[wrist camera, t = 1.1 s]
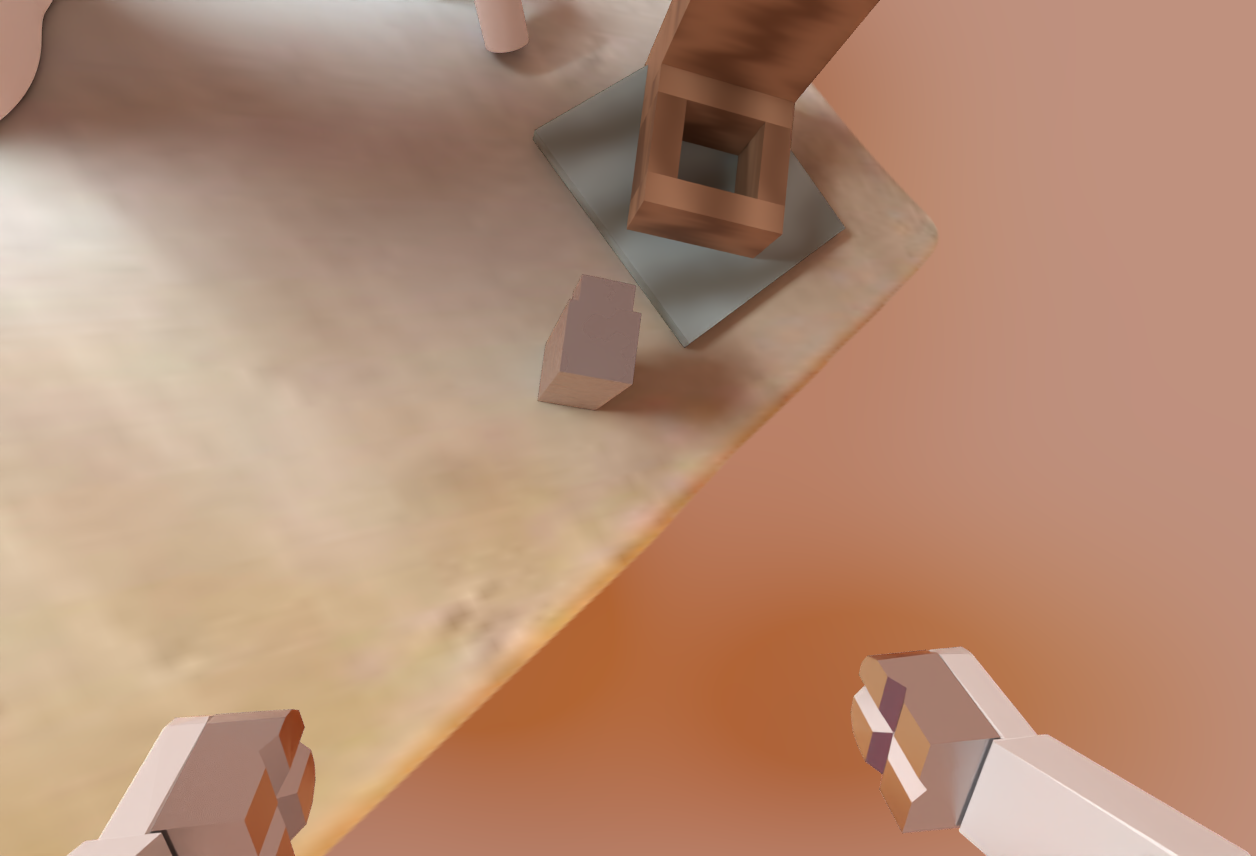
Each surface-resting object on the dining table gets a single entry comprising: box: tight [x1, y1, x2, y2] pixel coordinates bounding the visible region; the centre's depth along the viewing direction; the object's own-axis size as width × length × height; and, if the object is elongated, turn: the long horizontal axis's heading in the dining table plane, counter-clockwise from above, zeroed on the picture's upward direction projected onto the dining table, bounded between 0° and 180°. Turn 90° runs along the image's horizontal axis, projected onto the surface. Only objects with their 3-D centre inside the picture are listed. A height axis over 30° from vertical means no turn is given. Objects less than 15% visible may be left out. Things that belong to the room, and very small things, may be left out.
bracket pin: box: [537, 274, 641, 410], centre depth 41 cm, size 4×6×10 cm
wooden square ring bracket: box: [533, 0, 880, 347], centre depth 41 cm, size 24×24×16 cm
